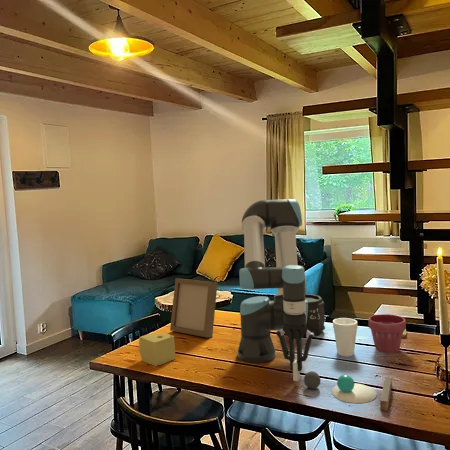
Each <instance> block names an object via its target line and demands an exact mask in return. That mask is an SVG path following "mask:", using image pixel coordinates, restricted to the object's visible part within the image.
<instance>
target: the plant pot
mask: <svg viewBox="0 0 450 450" xmlns="http://www.w3.org/2000/svg"><path fill="white" fill-rule="evenodd" d="M406 325H407V324H406V318H404V317H403V316H400V315H397V314H389V313H388V314H386V313H381V314H379V313H378V314H373V315H371V316H368V329H370V330H371V336H372V339H373V340H372V341H373V344H374V348H375V350H376V351H377V352H378V353H379V352H380V353H383V354H396V353H399V352H400V348H401V344H402V339H403V337H402V335H403V331H404V330H405V329H406V328H407V327H406ZM406 330H407V329H406Z"/></svg>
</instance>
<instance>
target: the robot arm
mask: <svg viewBox="0 0 450 450" xmlns="http://www.w3.org/2000/svg"><path fill="white" fill-rule="evenodd" d="M242 215H243V216H242V217H241V228H242V229H241V230H243V233H244V235H243V238H244V241H243V243H244V248H243V249H244V267H243V268H240V269H239V274H238V275H239V287H240V289H243V290H263V289H264V290H267V289H269V290H270V289H277V292H276V293H275V295H274V296H273V298H274V299H273V300H270V297H268V296H267V295H266V296H263V295H262V296H261V295H258V296H253V297H249V298H246V299H244V300H242V301H241V303H240V306H239V308H240V309H239V310H240V312H239V315H240V333H241V334H240V341H239V344H238V348H237V358H238V359H239V360H241V361H243V362H247V363H252V364H253V363H265V362H270V361H272V360H274V358H275V357H276V349H275V345H274V343H273V340H272V338H271V331H276V332H275V334H276V336H277V337H278V340H279V343H280V346H281V350H282V355H283V357H284V360H288V361H289V369H290V371H292V375H293V376H292V378H293V380H292V381H294V382H298V381H300V377H301V376H300V372H302V370H303V362H306V361H307V359H308V357H309V352H310V348H311V344H312V339H313V338H314V337H315V336H314V335H315V334H314V333H313V332H312V333H311V332H310V331H309V330H308V328H307V326H306V323H307V314H308V301H307V300H306V299H305V294H306V273H305V267H304V266H302V265H298V252H297V251H298V250H297V236H296V234H298V233H299V230H300V227H301V226H303V217H302V210H301V206H300V203H299V201H298V200H297V199H291V198H283V199H260V200H257V201H255V202H254V203H252V204H250V206H249V207H248V208H247V209H246V210H245V211H244V213H243V214H242ZM265 228H270V232H271V233H272V234H273V235H274V241H275V242H274V243H275V244H274V245H275V259H276V262H275V263H276V264H275V265H276V267H274V266H273V267H269V266H268V267H266V260H265V244H264V230H265ZM305 334H307V335H306V337H305V338H306V340H305V344H304V345H305V346H304V348H303V338H304V337H303V336H304V335H305ZM285 335H286V336H287V338H288V344H287V339H286V336H285ZM295 343H296V344H295ZM295 348H296V349H295ZM303 349H304V350H303ZM295 350H296V353H295ZM295 358H296V359H295Z"/></svg>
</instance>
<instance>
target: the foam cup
mask: <svg viewBox="0 0 450 450" xmlns="http://www.w3.org/2000/svg"><path fill="white" fill-rule="evenodd" d="M332 328H333V333H334V338H335V344H336V352H337V355H339V356H341V357H352V356H354V355H355V354H354V353H355V347H356V339H357V331H358V320H356V319H354V318H350V317H349V318H348V317H339V318H334V319H333V320H332Z"/></svg>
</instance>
